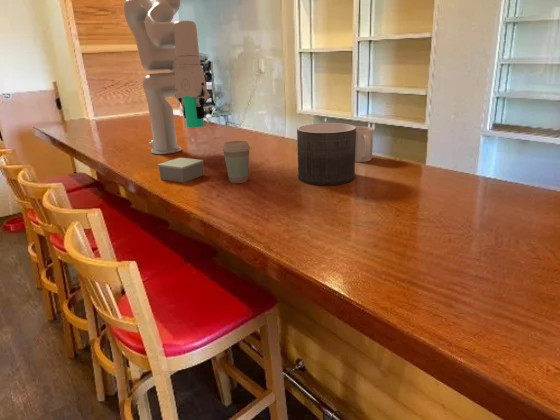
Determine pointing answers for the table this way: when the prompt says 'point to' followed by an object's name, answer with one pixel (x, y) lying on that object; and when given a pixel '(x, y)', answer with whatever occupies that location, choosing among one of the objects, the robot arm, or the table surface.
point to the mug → (363, 144)
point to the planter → (326, 153)
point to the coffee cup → (237, 160)
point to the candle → (192, 112)
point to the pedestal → (181, 169)
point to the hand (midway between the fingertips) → (194, 117)
